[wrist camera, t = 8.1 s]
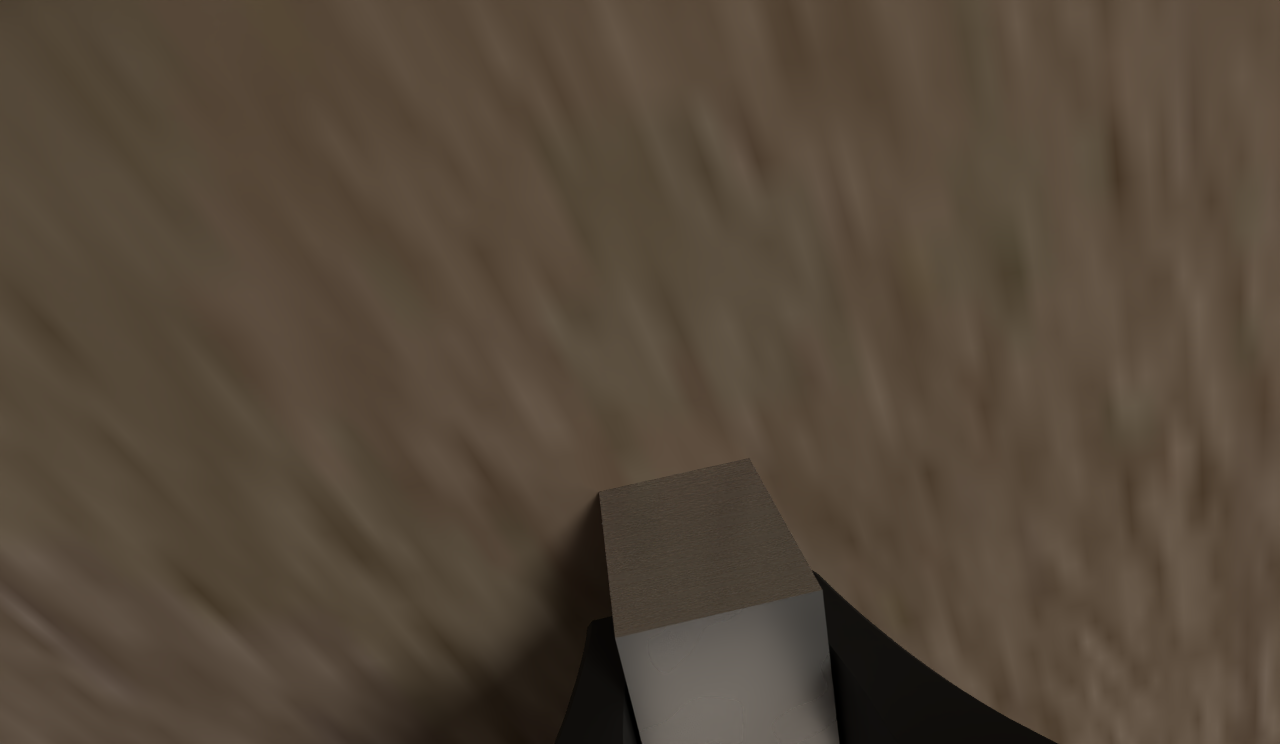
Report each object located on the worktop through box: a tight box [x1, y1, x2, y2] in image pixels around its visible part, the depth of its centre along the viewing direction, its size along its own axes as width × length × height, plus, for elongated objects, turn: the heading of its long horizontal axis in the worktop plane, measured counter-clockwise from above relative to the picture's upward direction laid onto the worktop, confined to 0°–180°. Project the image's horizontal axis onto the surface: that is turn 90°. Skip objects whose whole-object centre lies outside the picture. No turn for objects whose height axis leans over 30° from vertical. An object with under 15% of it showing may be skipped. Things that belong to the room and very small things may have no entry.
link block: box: [599, 458, 839, 744], centre depth 13 cm, size 6×3×4 cm, turn 11°
